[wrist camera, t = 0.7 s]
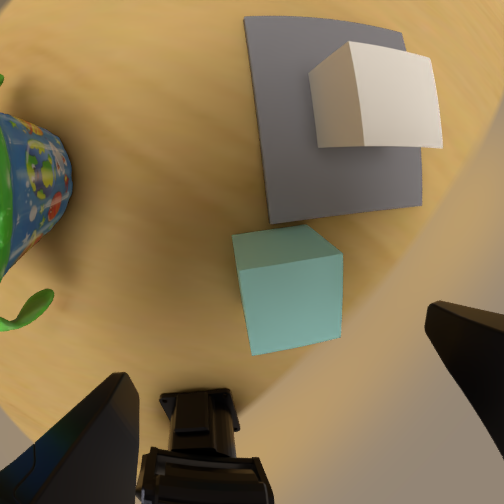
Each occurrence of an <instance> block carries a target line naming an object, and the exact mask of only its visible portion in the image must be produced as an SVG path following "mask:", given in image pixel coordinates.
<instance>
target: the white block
mask: <svg viewBox="0 0 504 504" xmlns="http://www.w3.org/2000/svg"><path fill="white" fill-rule="evenodd" d="M308 76H309V82H310V89H311V95H312V103H313V110H314V118H315V126H316V135H317V144H318V148H326V147H353V146H402V147H429V148H443V141H442V129H441V120H440V111H439V104H438V97H437V91H436V85H435V80H434V74H433V70H432V65H431V60H430V58H428V57H424V56H421V55H417V54H413V53H409V52H405V51H401V50H397V49H392V48H387V47H382V46H377V45H371V44H365V43H359V42H351V41H348V42H347V43H345V44H344V45H343V46H341V47H340V48H339V49H338V50H336V51H335V52H334V53H332V54H331V55H330V56H329V57H327V58H326V59H325V60H324V61H322V62H321V63H320V64H319V65H318V66H316V67H315V68H314V69H313V70H311V71H310V72H309V73H308Z"/></svg>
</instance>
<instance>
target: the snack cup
mask: <svg viewBox="0 0 504 504" xmlns="http://www.w3.org/2000/svg"><path fill="white" fill-rule="evenodd" d="M3 81H4V76H3V75H1V74H0V86H1V85H2V83H3ZM71 173H72V168H71V163H70V160H69V158H68V155H67V153H66V151H65V149H64V147H63V144H62V142H61V141H60V138H59V137H57V136H55V135H53V134H52V133H50V132H49V131H48V130H47V129H44V128H42V127H39V126H37V125H34V124H32V123H29V122H27V121H24V120H22V119H19V118H17V117H14V116H12V115H9V114H4V113H0V282H1V280H2V278H3V277H4V275H5V274H6V273H7V272H8V270H9V269H10V268H11V267H12V266H13V265H14V264H15V263H16V262H17V261H18V260H19V259H20V258H21V257H22V256H23V255H24V254H25V253H26V252H27V251H28V250H29V249H31V248H32V247H33V246H34V245H35V244H36V243H37V242H38V241H39V240H40V239H41V237H42V236H43V235H45V234H46V233H47V232H49V231H50V230H51V229H52V227H53V226H54V225H55V224H56V223H57V222H58V221H59V220H60V218H61V217H62V215H63V213H64V212H65V210H66V207H67V204H68V201H69V198H70V196H71V195H72V188H73V182H72V178H71ZM53 298H54V291H53V290H51V289H44V290H41V291H39V292H37V293H36V294H34V295H33V296H31V297H30V298H29V299H28V300H27V302H26V303H25V305H24V306H23V308H22V309H21V311H20V313H19V315H18V316H17V318H16V319H14V320H12V321H8V320H6V319H4V318H2V317H0V331H9V330H14V329H19V328H21V327H23V326H26V325H28V324H29V323H31V322H32V321H34V320H35V319H37V318H38V317H39V316H40V315H42V314H43V312H44V311H45V310H46V309H47V308H48V307H49V305H50V304H51V302H52V301H53Z"/></svg>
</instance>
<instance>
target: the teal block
mask: <svg viewBox="0 0 504 504" xmlns="http://www.w3.org/2000/svg"><path fill="white" fill-rule="evenodd" d="M232 241H233V248H234V254H235V261H236V268H237V274H238V281H239V287H240V294H241V300H242V306H243V311H244V317H245V322H246V327H247V332H248V338H249V343H250V348H251V353H252V356H254V355H260V354H266V353H271V352H277V351H282V350H287V349H292V348H297V347H301V346H306V345H311V344H315V343H319V342H324V341H328V340H332V339H336V338H340V337H341V322H342V298H343V253H342V252H340V251H339V250H338V249H337V248H336V247H334V246H333V245H332V244H331V243H329V242H328V241H327V240H326V239H324V238H323V237H322V236H321V235H319V234H318V233H317V232H316V231H314V230H313V229H312V228H311V227H309V226H308V225H307V224H305V225H298V226H291V227H284V228H277V229H270V230H263V231H256V232H249V233H243V234H236V235H232Z"/></svg>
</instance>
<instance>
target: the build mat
mask: <svg viewBox="0 0 504 504" xmlns="http://www.w3.org/2000/svg"><path fill="white" fill-rule="evenodd" d="M243 21H244V28H245V35H246V42H247V48H248V55H249V62H250V70H251V77H252V84H253V92H254V99H255V107H256V115H257V122H258V130H259V138H260V146H261V155H262V163H263V172H264V180H265V189H266V198H267V207H268V216H269V223H270V224H277V223H284V222H292V221H299V220H306V219H314V218H321V217H329V216H337V215H345V214H353V213H361V212H370V211H378V210H387V209H396V208H405V207H414V206H422V163H421V147H402V146H353V147H326V148H318V144H317V135H316V126H315V118H314V110H313V103H312V95H311V89H310V82H309V76H308V73H309V72H310V71H311V70H313V69H314V68H315V67H316V66H318V65H319V64H320V63H321V62H322V61H324V60H325V59H326V58H327V57H329V56H330V55H331V54H332V53H334V52H335V51H336V50H338V49H339V48H340V47H341V46H343V45H344V44H345V43H347V42H348V41H351V42H359V43H365V44H371V45H377V46H382V47H387V48H392V49H397V50H401V51H405V52H406V48H405V44H404V40H403V36H402V33H400V32H397V31H393V30H388V29H384V28H380V27H375V26H370V25H365V24H359V23H353V22H347V21H340V20H332V19H323V18H312V17H296V16H247V17H244V20H243Z"/></svg>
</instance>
